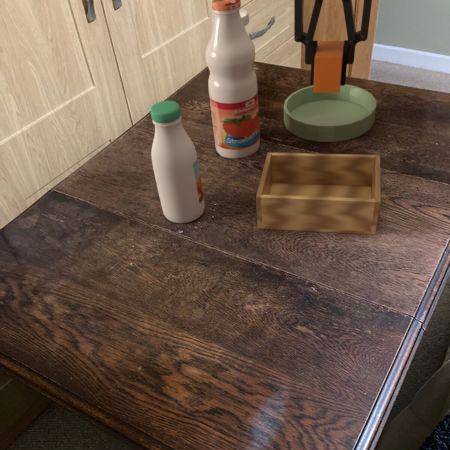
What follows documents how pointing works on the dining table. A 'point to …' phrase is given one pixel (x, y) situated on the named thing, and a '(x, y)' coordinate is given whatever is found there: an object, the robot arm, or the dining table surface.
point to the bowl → (329, 113)
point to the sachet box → (328, 67)
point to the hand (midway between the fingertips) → (328, 81)
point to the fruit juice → (232, 83)
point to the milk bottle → (175, 165)
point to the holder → (320, 193)
